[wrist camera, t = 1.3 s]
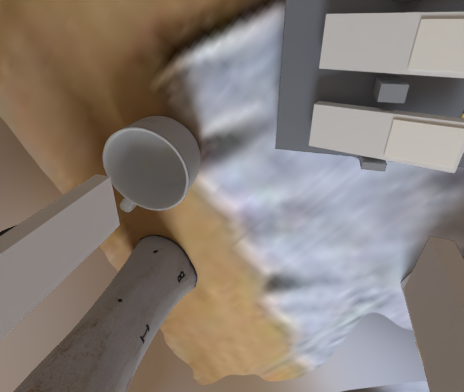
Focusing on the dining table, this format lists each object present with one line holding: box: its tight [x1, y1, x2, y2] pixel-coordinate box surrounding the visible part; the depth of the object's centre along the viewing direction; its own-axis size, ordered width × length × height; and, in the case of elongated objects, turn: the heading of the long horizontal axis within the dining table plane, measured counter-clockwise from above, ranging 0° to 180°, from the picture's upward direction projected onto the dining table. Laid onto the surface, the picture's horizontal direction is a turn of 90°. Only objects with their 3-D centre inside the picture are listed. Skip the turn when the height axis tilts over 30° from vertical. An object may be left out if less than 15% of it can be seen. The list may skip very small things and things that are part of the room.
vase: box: [14, 235, 197, 392], centre depth 42 cm, size 13×14×28 cm
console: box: [275, 0, 464, 171], centre depth 25 cm, size 21×19×8 cm
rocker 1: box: [319, 12, 464, 78], centre depth 22 cm, size 4×12×2 cm, turn 91°
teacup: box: [102, 116, 201, 213], centre depth 38 cm, size 14×11×8 cm
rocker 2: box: [309, 101, 464, 173], centre depth 26 cm, size 4×12×2 cm, turn 91°
